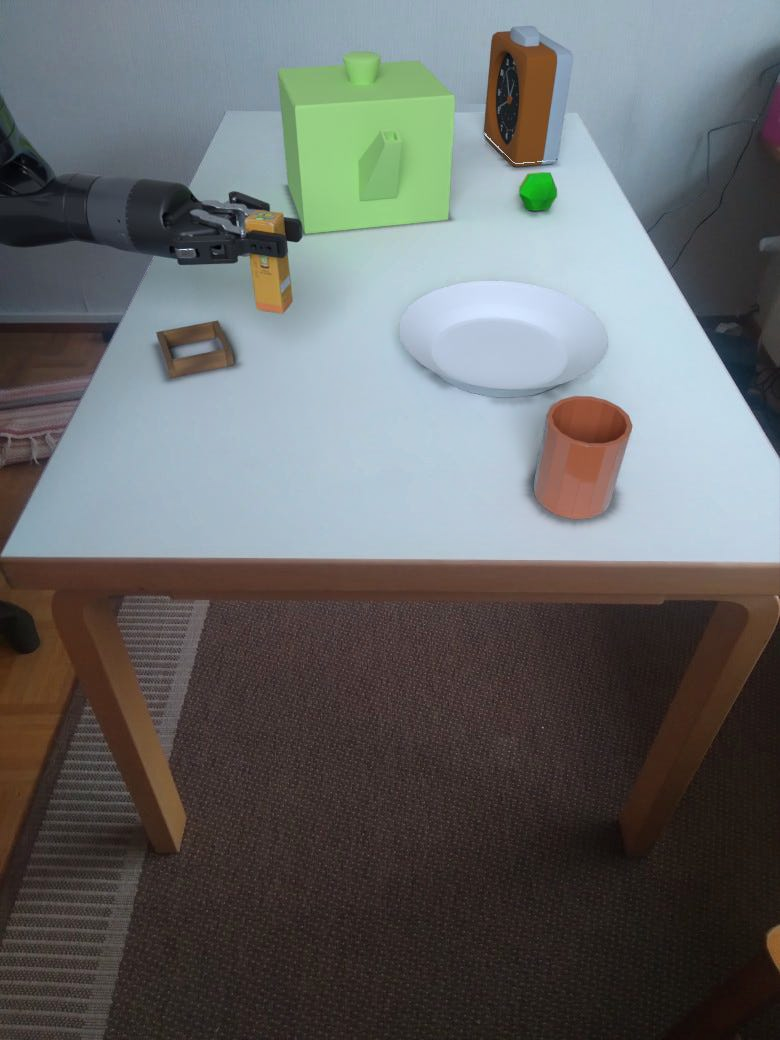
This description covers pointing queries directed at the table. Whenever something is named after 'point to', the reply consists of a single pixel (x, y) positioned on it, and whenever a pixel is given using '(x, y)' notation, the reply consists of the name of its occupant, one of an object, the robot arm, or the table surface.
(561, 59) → the alarm clock
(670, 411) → the table surface
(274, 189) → the table surface
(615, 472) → the cup
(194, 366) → the wooden frame
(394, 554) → the table surface
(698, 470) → the table surface
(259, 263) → the supplement box
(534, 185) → the green faceted polyhedron
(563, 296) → the white plate
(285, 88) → the teapot
